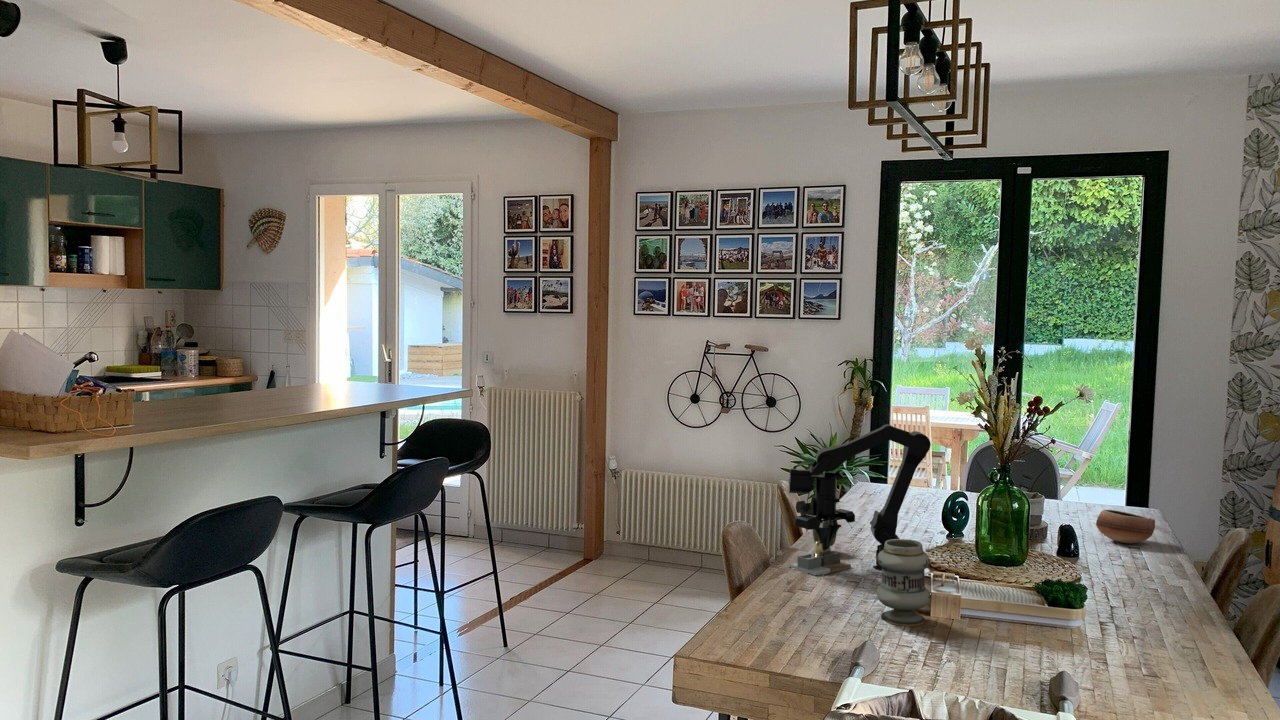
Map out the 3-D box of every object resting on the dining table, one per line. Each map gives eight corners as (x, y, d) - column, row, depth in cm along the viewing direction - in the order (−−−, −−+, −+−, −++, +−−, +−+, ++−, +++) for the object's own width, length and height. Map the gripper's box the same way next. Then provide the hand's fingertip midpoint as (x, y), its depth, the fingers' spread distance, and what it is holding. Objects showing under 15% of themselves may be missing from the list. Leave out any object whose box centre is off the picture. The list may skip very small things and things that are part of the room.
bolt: (824, 563, 264) (824, 542, 264) (809, 567, 260) (809, 545, 260) (817, 562, 266) (818, 540, 265) (802, 565, 262) (803, 543, 262)
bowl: (1164, 546, 292) (1165, 514, 292) (1126, 550, 286) (1127, 517, 286) (1121, 535, 307) (1122, 504, 306) (1084, 539, 301) (1085, 507, 300)
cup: (839, 554, 279) (839, 527, 279) (813, 554, 280) (814, 527, 279) (834, 548, 287) (834, 522, 286) (809, 548, 287) (810, 521, 287)
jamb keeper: (830, 572, 260) (830, 558, 260) (816, 575, 256) (816, 561, 256) (803, 564, 268) (803, 551, 268) (789, 567, 264) (789, 554, 264)
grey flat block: (850, 567, 265) (850, 554, 265) (831, 572, 260) (831, 558, 260) (823, 560, 273) (823, 547, 273) (804, 564, 268) (804, 551, 268)
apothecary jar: (865, 614, 224) (866, 538, 223) (908, 609, 228) (909, 534, 227) (896, 630, 212) (898, 550, 212) (941, 624, 217) (942, 546, 216)
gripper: (827, 486, 277) (826, 539, 278) (781, 493, 266) (780, 548, 267) (856, 492, 268) (855, 547, 269) (810, 499, 257) (809, 556, 258)
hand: (824, 549), depth 266 cm, fingers closed
